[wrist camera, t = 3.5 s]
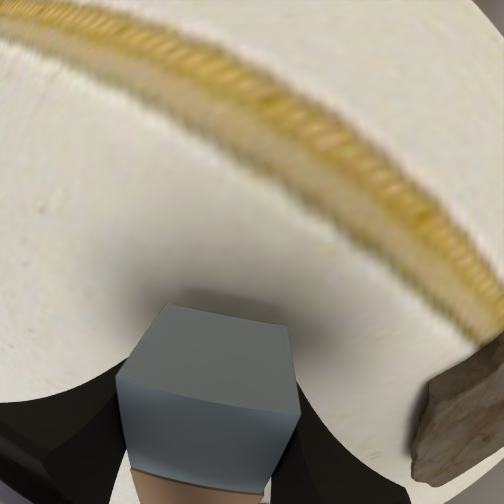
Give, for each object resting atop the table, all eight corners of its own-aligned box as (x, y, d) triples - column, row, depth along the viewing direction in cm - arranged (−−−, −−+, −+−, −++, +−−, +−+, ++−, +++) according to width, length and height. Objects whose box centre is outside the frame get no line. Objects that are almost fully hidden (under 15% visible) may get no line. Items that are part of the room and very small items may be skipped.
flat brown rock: (547, 291, 14) (577, 309, 10) (519, 401, 17) (537, 421, 13) (399, 382, 16) (423, 424, 12) (398, 473, 19) (409, 503, 15)
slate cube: (287, 326, 11) (301, 414, 7) (262, 409, 13) (261, 493, 8) (166, 302, 11) (115, 376, 7) (162, 390, 13) (130, 466, 8)
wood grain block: (264, 420, 16) (263, 495, 11) (246, 470, 18) (242, 530, 12) (158, 400, 16) (130, 469, 11) (161, 454, 18) (142, 511, 12)
